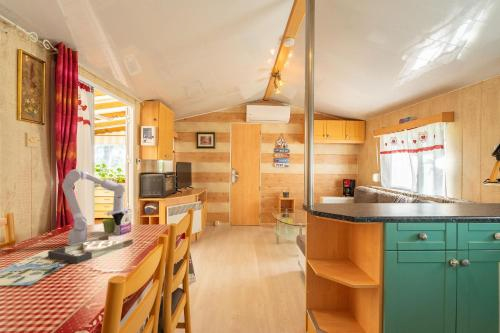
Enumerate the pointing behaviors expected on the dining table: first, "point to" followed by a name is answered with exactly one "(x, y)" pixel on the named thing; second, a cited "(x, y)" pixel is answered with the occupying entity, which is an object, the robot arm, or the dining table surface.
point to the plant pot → (109, 225)
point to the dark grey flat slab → (68, 256)
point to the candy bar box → (124, 224)
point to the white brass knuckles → (97, 245)
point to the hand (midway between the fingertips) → (117, 225)
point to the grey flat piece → (100, 251)
